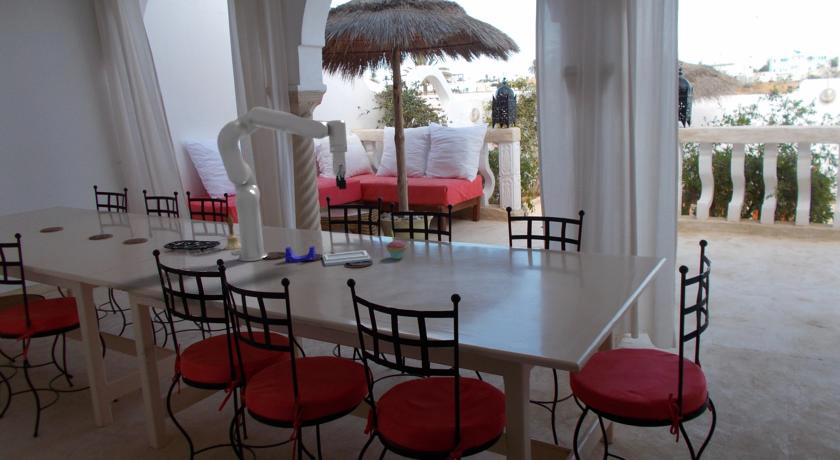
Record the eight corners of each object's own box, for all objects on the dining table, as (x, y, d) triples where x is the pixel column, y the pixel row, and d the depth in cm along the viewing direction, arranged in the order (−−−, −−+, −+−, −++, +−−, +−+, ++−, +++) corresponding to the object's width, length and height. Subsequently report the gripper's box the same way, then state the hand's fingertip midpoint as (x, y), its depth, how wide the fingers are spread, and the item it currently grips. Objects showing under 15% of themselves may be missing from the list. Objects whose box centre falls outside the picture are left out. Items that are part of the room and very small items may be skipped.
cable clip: (285, 263, 273) (284, 249, 272) (288, 260, 277) (287, 246, 276) (313, 262, 272) (312, 248, 271) (315, 259, 276) (314, 246, 275)
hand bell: (239, 249, 302) (236, 216, 299) (222, 250, 303) (218, 216, 299) (244, 245, 310) (241, 212, 307) (227, 246, 311) (224, 213, 307)
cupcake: (383, 259, 270) (381, 231, 268) (393, 254, 278) (391, 227, 275) (401, 260, 266) (399, 232, 264) (411, 255, 274) (409, 228, 271)
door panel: (325, 266, 264) (324, 260, 263) (322, 257, 279) (322, 252, 279) (371, 261, 268) (370, 256, 267) (365, 252, 283) (365, 247, 283)
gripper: (328, 148, 288) (330, 186, 291) (331, 150, 271) (334, 191, 275) (344, 147, 289) (347, 184, 293) (349, 149, 273) (352, 189, 276)
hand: (341, 187), depth 284 cm, fingers open, 9 cm apart
